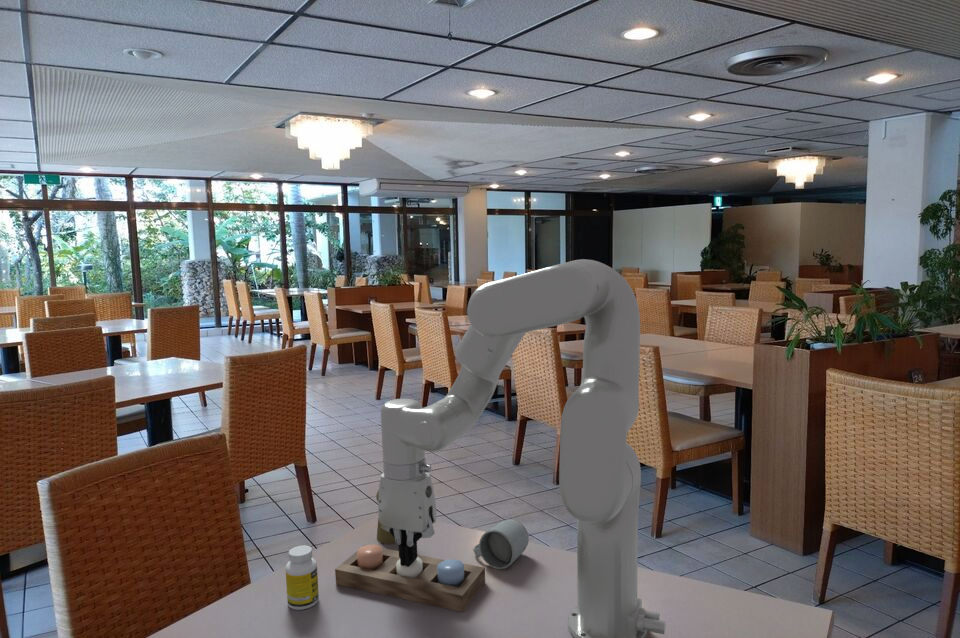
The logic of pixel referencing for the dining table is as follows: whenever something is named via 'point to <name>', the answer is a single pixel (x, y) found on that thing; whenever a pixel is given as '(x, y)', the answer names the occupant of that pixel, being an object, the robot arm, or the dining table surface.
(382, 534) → the olive game pawn
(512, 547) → the ceramic mug
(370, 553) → the pink rounded dome
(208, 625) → the dining table surface
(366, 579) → the wooden compartment tray
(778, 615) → the dining table surface
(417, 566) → the cream button
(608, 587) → the robot arm
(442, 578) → the blue rounded knob
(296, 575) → the supplement bottle
